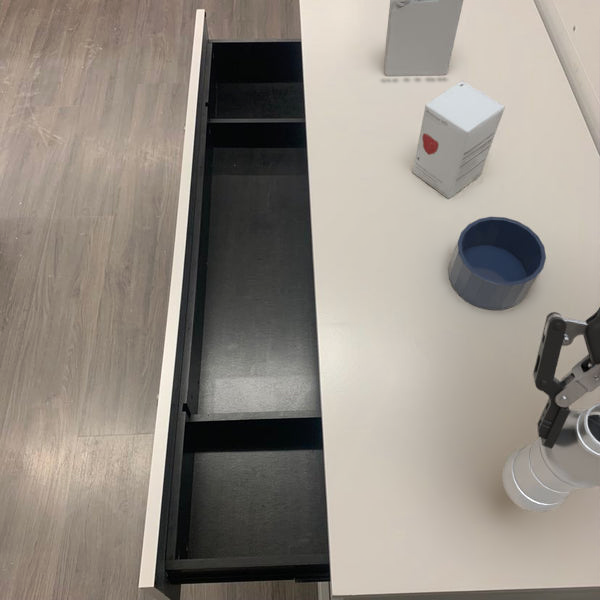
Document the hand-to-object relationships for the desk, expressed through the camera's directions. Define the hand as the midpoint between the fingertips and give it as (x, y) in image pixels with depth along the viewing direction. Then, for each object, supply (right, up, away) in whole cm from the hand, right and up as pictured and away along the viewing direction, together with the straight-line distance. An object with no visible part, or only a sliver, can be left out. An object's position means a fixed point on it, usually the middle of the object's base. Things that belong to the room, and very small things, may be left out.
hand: (586, 459), depth 43 cm
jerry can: (0, +61, +68) cm, 92 cm away
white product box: (+3, +35, +52) cm, 63 cm away
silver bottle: (+2, -7, +15) cm, 17 cm away
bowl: (+7, +17, +41) cm, 44 cm away
